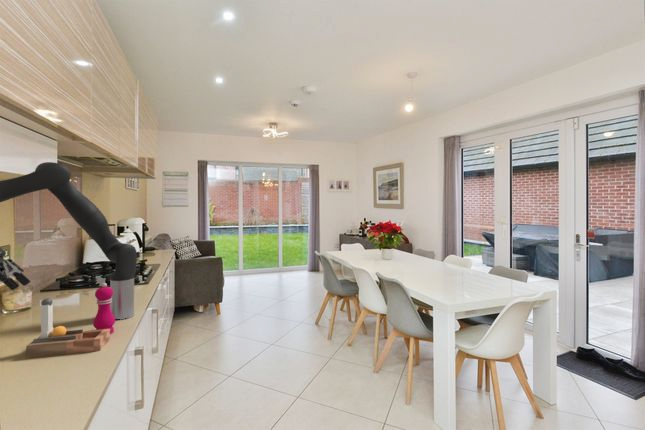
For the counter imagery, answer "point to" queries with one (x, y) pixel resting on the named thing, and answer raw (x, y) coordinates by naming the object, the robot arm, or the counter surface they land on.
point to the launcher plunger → (46, 318)
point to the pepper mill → (104, 309)
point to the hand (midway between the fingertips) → (22, 285)
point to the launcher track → (69, 343)
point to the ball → (59, 331)
